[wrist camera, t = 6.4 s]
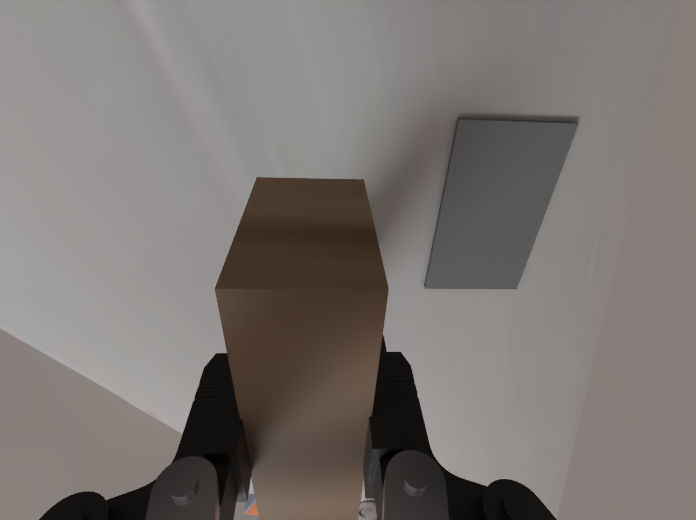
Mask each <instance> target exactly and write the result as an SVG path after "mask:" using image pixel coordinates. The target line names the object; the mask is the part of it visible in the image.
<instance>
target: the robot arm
mask: <svg viewBox="0 0 696 520" xmlns="http://www.w3.org/2000/svg"><path fill="white" fill-rule="evenodd" d="M251 475H252V467H251V461H250V456H249V450H248V445H247V440H246V434H245V429H244V423H243V420H240V417H239V412H238V406H237V401H236V396H235V391H234V386H233V380H232V375H231V370H230V365H229V360H228V354H227V353H217V354H215V356H214V357H213V358H212V359H211V360H210V362H209V363H208V364H207V365H206V366H205V367H204V370H203V373H202V376H201V379H200V383H199V387H198V389H197V392H196V395H195V400H194V401H193V404H192V407H191V410H190V413H189V416H188V419H187V423H186V426H185V429H184V432H183V435H182V438H181V441H180V444H179V447H178V450H177V453H176V456H175V458H174V460H173V461H172V463H171V464H170V465H169V466H168V467H166V469H164V470H163V471H162V473H161V474H160V475H159V476H158V478H157V479H156V480H154V481H153V482H151V483H150V484H148V485H146V486H144V487H141V488H139V489H136V490H134V491H131V492H128V493H125V494H122V495H119V496H117V497H114V498H111V499H108V500H105V499H104V497H103V496H101V495H100V494H98V493H95V492H80V493H76V494H73V495H70V496H68V497H67V498H64V499H63V500H61V501H60V502H58V503H57V504H56V505H54V506H53V507H52V508H50V510H48V511H47V512H46V513H45V514H44V515H43V516H42V517H41V518H40V519H39V520H233V519H234V513H235V508H236V502H247V501H248V494H249V488H250V481H251ZM363 475H364V487H365V498H375V505H376V514H377V520H557V519H556V518H555V517H554V516H553V515H552V514H551V512H550V511H549V510H548V509H547V508H546V506H545V505H544V504H543V503H542V502H541V500H540V499H539V498H538V497H537V496H536V495H535V494H534V493H533V492H532V491H531V490H530V489H529V488H527V487H526V486H524V485H523V484H521V483H519V482H516V481H513V480H508V479H500V480H496V481H494V482H492V483H491V484H490V485H489V486H488V487H487V486H484V485H481V484H478V483H475V482H471V481H468V480H465V479H462V478H459V477H457V476H455V475H453V474H451V473H450V472H448V471H447V470H446V469H444V468H443V467H442V466H441V465H440V464H439V462H438V461H437V460H436V458H435V457H434V455H433V453H432V451H431V448H430V445H429V441H428V436H427V432H426V428H425V424H424V420H423V415H422V411H421V407H420V403H419V399H418V397H417V390H416V386H415V384H414V378H413V373H412V369H411V365H410V364H409V363H408V361H407V360H406V359H405V357H404V356H403V355H402V353H401V352H386V346H385V341H384V336H383V335H382V343H381V350H380V358H379V365H378V373H377V380H376V388H375V396H374V403H373V411H372V417H369V421H368V429H367V437H366V445H365V453H364V461H363Z"/></svg>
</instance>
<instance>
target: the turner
mask: <svg viewBox="0 0 696 520" xmlns="http://www.w3.org/2000/svg"><path fill="white" fill-rule="evenodd" d="M215 292H216V297H217V302H218V308H219V313H220V318H221V323H222V328H223V334H224V339H225V344H226V349H227V354H228V360H229V365H230V370H231V375H232V380H233V386H234V391H235V396H236V401H237V406H238V412H239V417H240V420H243V423H244V429H245V434H246V440H247V445H248V450H249V456H250V461H251V467H252V475H251V481H250V488H249V494H254V495H255V500H256V505H257V511H258V516H259V520H358V517H359V510H360V502H361V494H362V490H365V487H364V475H363V461H364V453H365V445H366V437H367V429H368V421H369V417H372V411H373V403H374V396H375V388H376V380H377V373H378V365H379V358H380V350H381V343H382V335H383V327H384V320H385V312H386V305H387V297H388V284H387V280H386V276H385V271H384V267H383V262H382V258H381V254H380V249H379V245H378V240H377V236H376V232H375V227H374V223H373V218H372V214H371V210H370V205H369V201H368V196H367V192H366V188H365V183H364V180H357V179H309V178H262V177H257V179H256V181H255V184H254V186H253V189H252V192H251V194H250V197H249V200H248V202H247V205H246V208H245V210H244V213H243V216H242V218H241V221H240V224H239V226H238V229H237V232H236V234H235V237H234V239H233V242H232V245H231V247H230V250H229V253H228V255H227V258H226V261H225V263H224V266H223V269H222V271H221V274H220V277H219V279H218V282H217V285H216V287H215Z"/></svg>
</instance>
